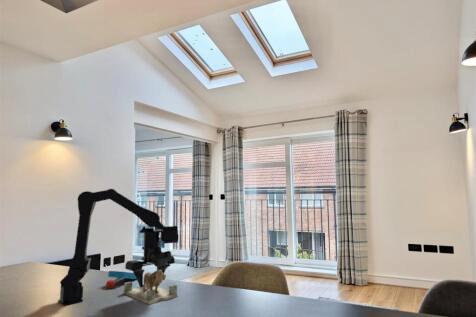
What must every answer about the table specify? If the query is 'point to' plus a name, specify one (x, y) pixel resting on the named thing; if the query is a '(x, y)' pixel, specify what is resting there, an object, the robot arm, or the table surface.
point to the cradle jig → (150, 293)
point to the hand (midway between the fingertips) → (150, 285)
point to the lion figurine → (153, 280)
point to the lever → (118, 277)
